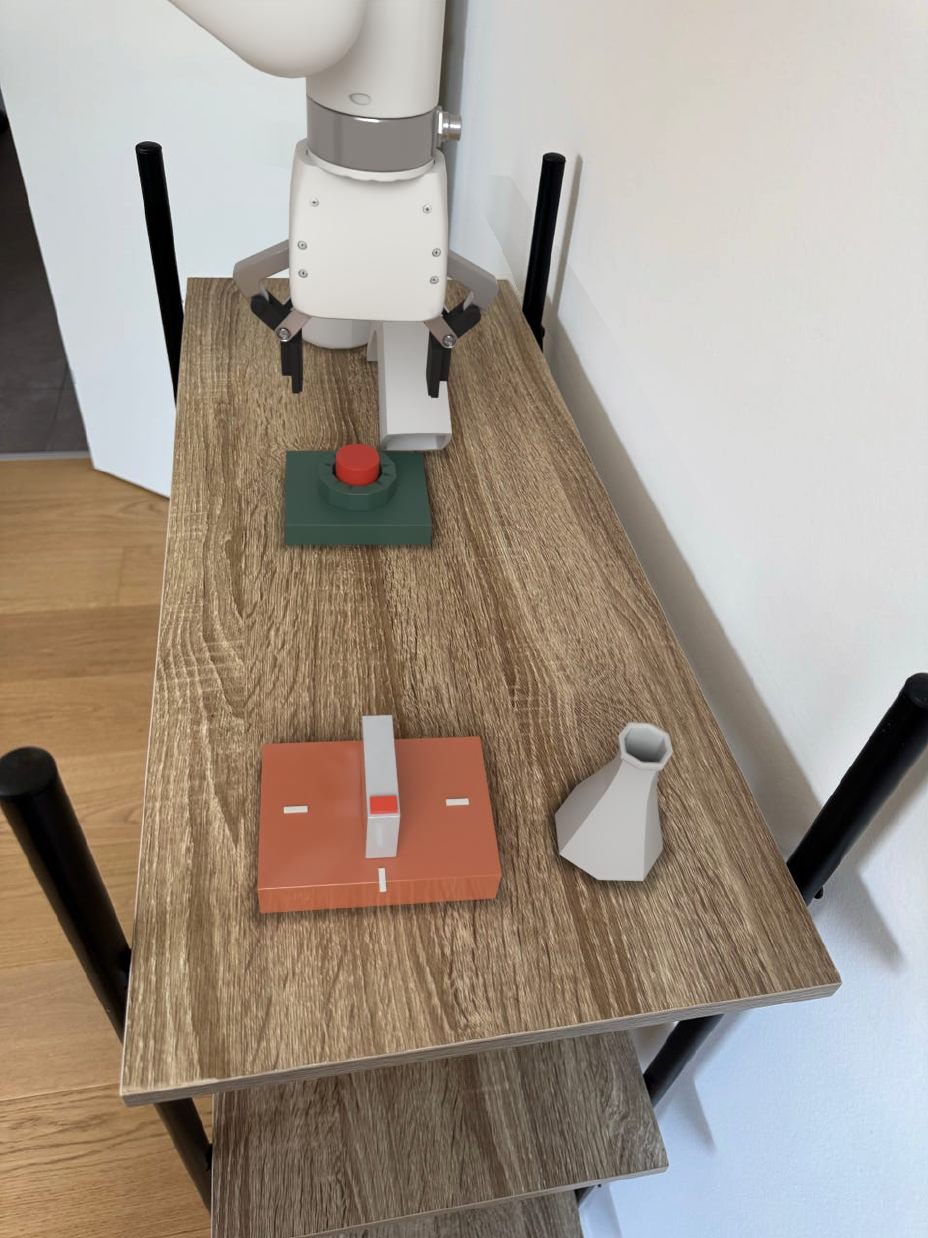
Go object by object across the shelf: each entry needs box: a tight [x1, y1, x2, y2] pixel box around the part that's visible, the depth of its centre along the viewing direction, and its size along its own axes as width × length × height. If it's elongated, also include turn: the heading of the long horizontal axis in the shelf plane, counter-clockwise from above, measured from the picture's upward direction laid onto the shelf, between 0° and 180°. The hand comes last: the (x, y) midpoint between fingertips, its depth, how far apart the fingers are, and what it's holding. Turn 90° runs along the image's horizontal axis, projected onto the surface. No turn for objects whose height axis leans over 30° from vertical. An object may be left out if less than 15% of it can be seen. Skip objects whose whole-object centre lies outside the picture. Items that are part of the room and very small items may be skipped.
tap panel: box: [256, 735, 503, 914], centre depth 56 cm, size 14×11×3 cm
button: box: [336, 443, 379, 485], centre depth 76 cm, size 4×4×2 cm
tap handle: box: [360, 714, 400, 858], centre depth 54 cm, size 7×2×5 cm, turn 7°
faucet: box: [366, 321, 453, 452], centre depth 88 cm, size 6×16×20 cm
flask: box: [554, 721, 674, 882], centre depth 56 cm, size 7×7×10 cm
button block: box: [284, 448, 433, 546], centre depth 78 cm, size 12×10×4 cm
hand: (365, 385), depth 66 cm, fingers open, 9 cm apart
